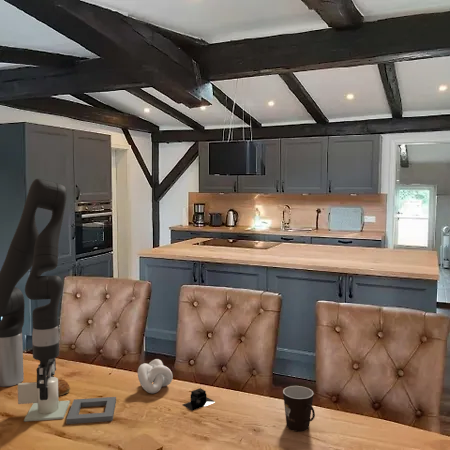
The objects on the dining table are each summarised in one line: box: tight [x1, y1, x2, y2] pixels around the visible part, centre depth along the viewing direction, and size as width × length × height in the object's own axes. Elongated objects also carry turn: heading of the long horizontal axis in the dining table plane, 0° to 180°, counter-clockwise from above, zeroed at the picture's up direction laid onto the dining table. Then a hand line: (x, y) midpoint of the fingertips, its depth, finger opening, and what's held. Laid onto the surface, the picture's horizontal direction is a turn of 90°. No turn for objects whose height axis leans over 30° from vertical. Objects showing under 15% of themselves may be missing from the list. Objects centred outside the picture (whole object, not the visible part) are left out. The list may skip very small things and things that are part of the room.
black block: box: [182, 388, 216, 412], centre depth 149 cm, size 12×7×5 cm, turn 131°
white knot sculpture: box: [137, 358, 173, 394], centre depth 159 cm, size 11×12×9 cm
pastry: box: [55, 376, 71, 396], centre depth 158 cm, size 9×7×4 cm
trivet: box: [23, 400, 71, 422], centre depth 143 cm, size 11×11×1 cm
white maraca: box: [17, 376, 59, 414], centre depth 142 cm, size 12×6×9 cm, turn 99°
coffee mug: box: [282, 385, 316, 433], centre depth 132 cm, size 12×9×10 cm
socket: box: [65, 396, 117, 425], centre depth 143 cm, size 13×13×2 cm
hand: (47, 393), depth 143 cm, fingers open, 8 cm apart
